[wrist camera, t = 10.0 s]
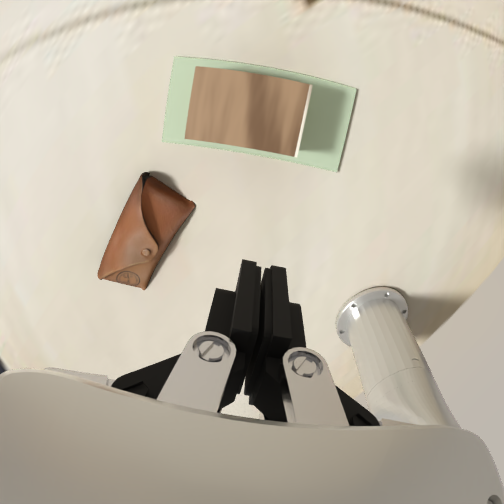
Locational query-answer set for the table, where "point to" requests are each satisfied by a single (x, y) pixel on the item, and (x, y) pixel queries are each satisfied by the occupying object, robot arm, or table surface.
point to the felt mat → (316, 123)
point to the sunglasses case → (143, 232)
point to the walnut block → (247, 110)
